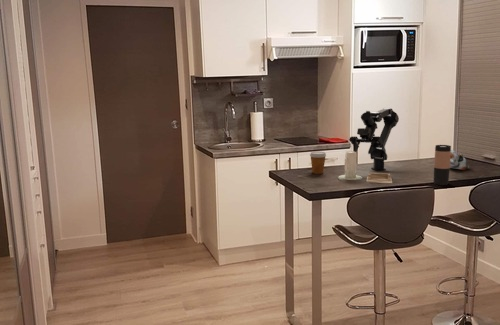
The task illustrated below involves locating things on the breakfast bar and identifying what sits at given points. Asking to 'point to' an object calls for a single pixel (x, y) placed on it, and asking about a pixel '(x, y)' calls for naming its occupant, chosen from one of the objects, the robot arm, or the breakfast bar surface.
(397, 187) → the breakfast bar surface
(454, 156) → the lucky cat figurine
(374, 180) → the wooden tray
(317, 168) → the disposable coffee cup
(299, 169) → the breakfast bar surface
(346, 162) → the jug
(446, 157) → the travel mug
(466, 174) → the breakfast bar surface
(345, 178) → the mat
